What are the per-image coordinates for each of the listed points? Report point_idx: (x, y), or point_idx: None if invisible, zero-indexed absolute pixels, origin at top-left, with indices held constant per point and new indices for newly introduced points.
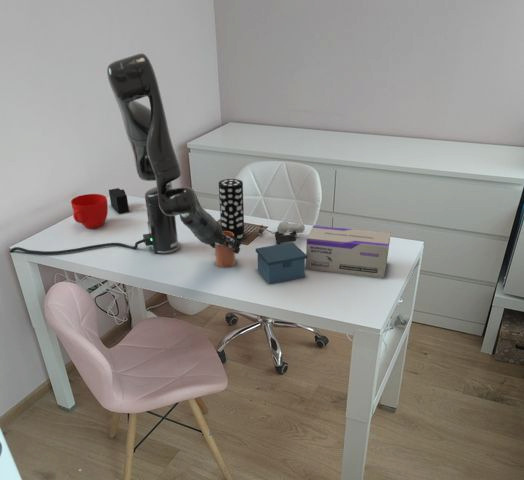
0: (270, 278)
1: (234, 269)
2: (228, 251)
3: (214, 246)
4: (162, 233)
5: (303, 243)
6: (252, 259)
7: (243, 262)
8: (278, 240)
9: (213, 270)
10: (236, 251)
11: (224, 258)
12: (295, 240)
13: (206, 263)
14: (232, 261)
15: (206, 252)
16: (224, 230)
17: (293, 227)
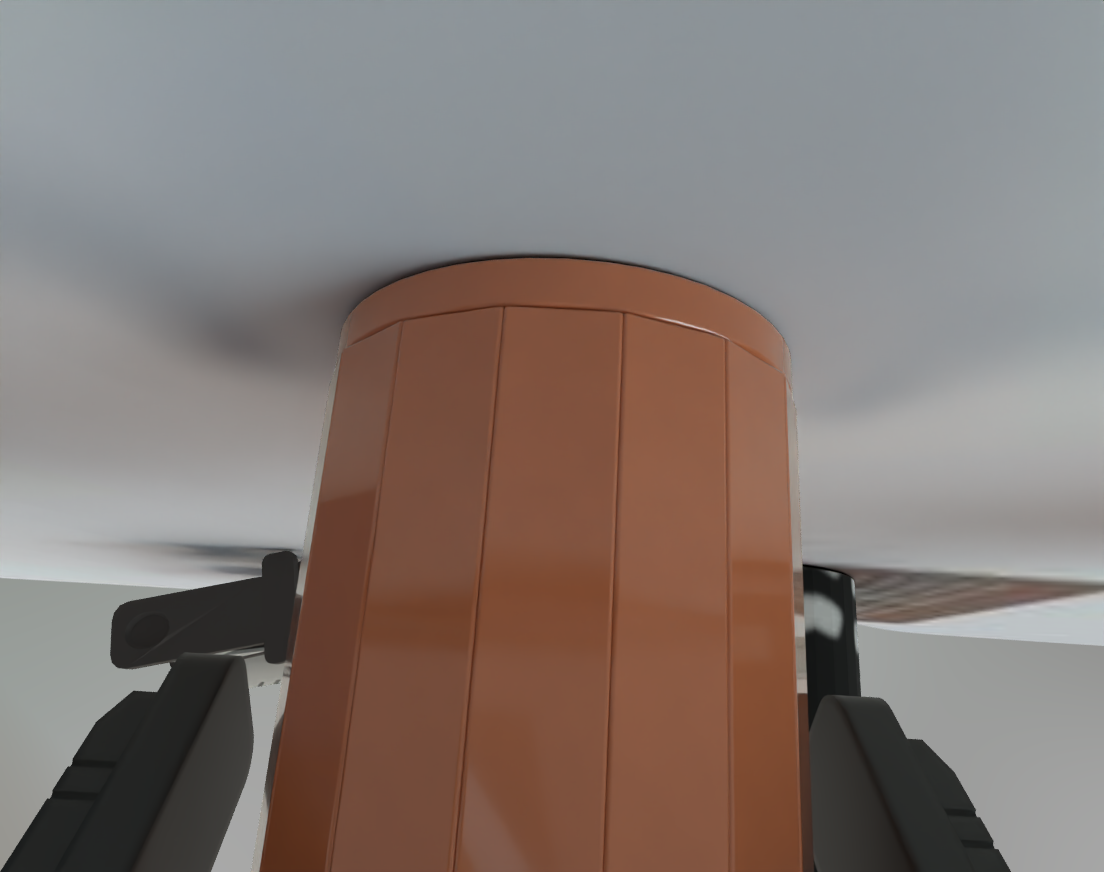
0: None
1: (125, 233)
2: (289, 791)
3: (852, 773)
4: None
5: (155, 556)
6: (239, 455)
7: (269, 410)
8: (271, 598)
9: (754, 2)
10: (144, 744)
11: (419, 548)
12: (116, 611)
13: (1089, 300)
14: (323, 439)
15: (1048, 488)
16: (807, 689)
17: (257, 666)
